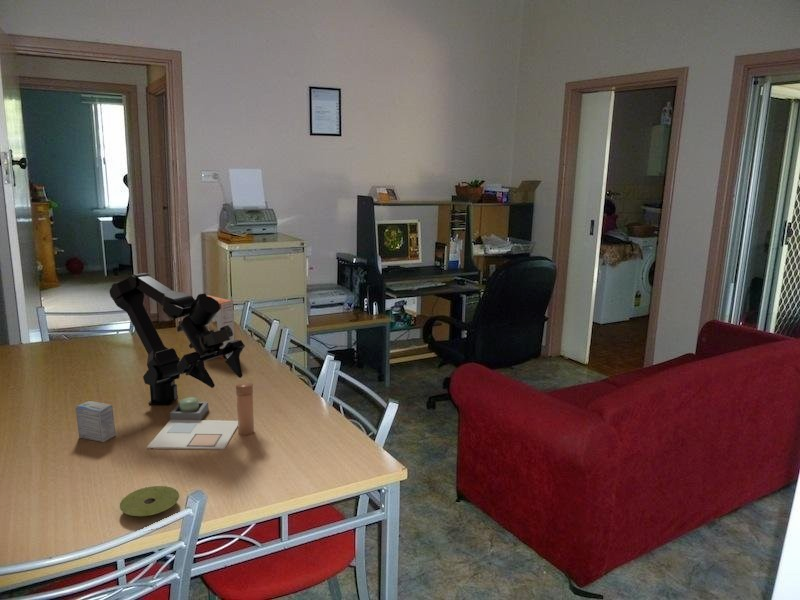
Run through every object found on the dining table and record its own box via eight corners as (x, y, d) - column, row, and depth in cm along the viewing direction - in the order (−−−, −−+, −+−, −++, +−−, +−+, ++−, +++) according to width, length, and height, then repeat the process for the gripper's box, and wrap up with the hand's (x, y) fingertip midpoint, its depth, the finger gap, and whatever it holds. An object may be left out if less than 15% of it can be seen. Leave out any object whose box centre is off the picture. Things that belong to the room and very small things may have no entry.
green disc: (138, 491, 128) (137, 483, 128) (189, 495, 127) (188, 487, 127) (108, 522, 117) (108, 513, 117) (163, 526, 116) (163, 517, 116)
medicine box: (116, 435, 154) (113, 404, 152) (102, 443, 150) (99, 411, 148) (92, 431, 156) (89, 399, 154) (78, 438, 152) (74, 406, 150)
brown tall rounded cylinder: (236, 435, 156) (234, 388, 153) (240, 428, 160) (238, 382, 157) (252, 435, 156) (250, 388, 153) (255, 428, 160) (254, 382, 157)
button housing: (170, 421, 163) (169, 412, 163) (180, 409, 171) (179, 401, 170) (199, 421, 163) (199, 413, 163) (208, 409, 171) (208, 401, 170)
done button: (177, 414, 164) (176, 404, 164) (183, 407, 169) (183, 397, 168) (195, 414, 164) (195, 404, 164) (201, 407, 169) (200, 397, 169)
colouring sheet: (147, 448, 147) (146, 446, 147) (170, 421, 163) (170, 419, 163) (224, 449, 148) (224, 447, 148) (240, 422, 163) (240, 420, 163)
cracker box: (198, 352, 222) (195, 297, 217) (211, 348, 227) (208, 294, 222) (222, 359, 214) (220, 302, 210) (236, 355, 219) (233, 299, 214)
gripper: (180, 325, 150) (212, 375, 146) (238, 311, 165) (268, 356, 162) (164, 349, 156) (193, 398, 152) (221, 333, 171) (249, 378, 168)
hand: (227, 381), depth 158 cm, fingers open, 9 cm apart
